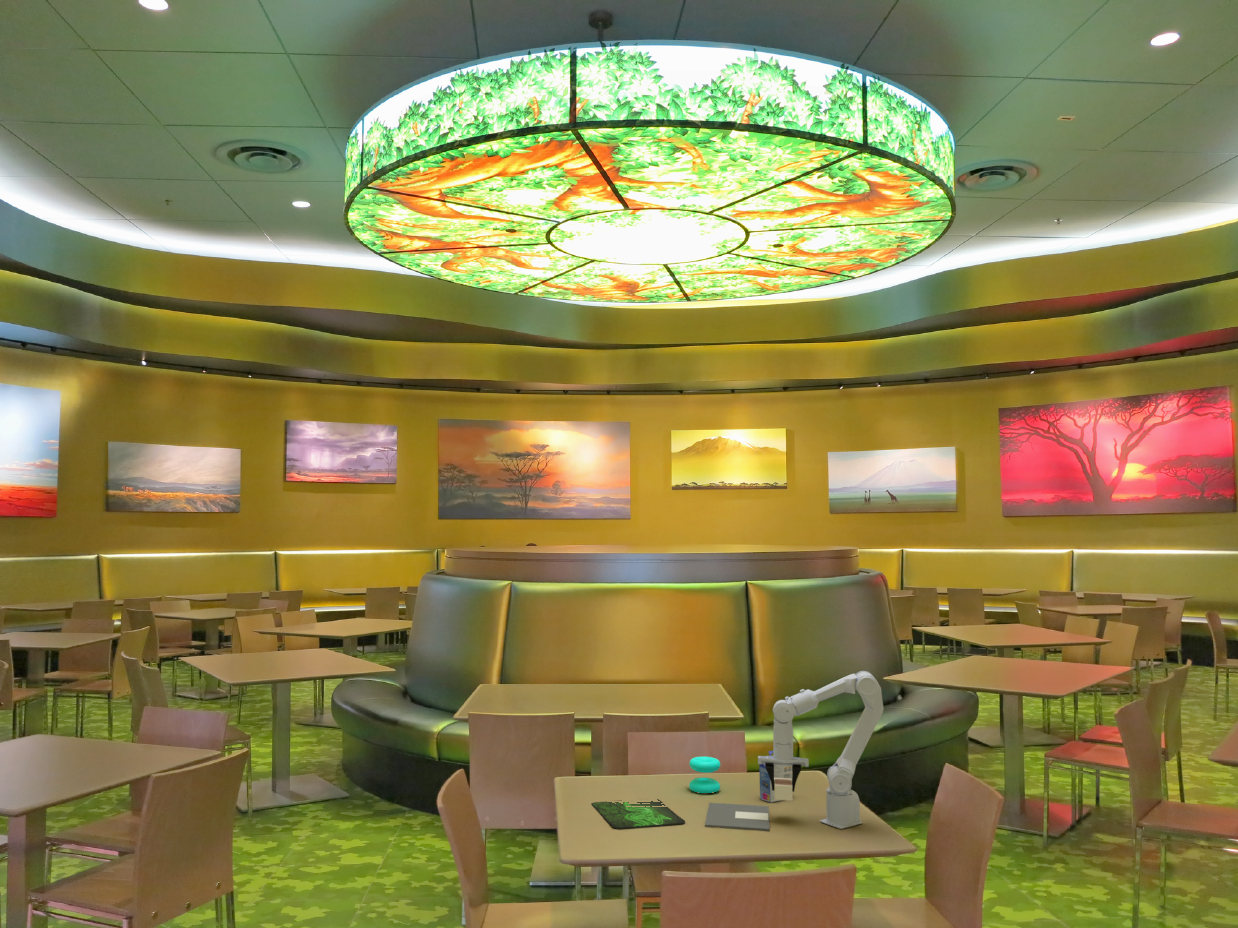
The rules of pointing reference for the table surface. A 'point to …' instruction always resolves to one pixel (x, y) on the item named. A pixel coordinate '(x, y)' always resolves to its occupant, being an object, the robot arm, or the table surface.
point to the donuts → (705, 767)
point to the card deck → (783, 789)
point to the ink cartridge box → (765, 782)
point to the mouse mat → (636, 814)
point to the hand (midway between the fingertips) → (783, 790)
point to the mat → (738, 816)
